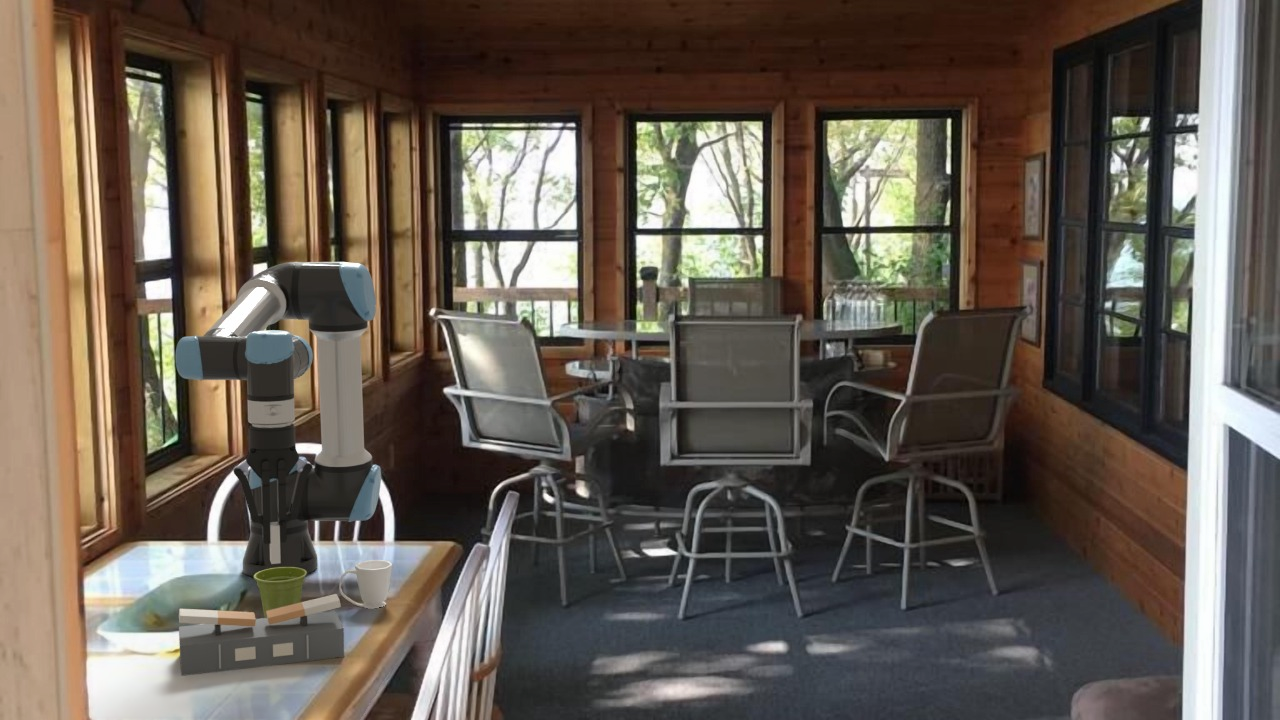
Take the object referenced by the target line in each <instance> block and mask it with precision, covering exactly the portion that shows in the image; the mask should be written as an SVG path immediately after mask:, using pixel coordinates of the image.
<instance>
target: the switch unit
mask: <svg viewBox="0 0 1280 720" xmlns="http://www.w3.org/2000/svg"><path fill="white" fill-rule="evenodd" d="M344 631H345V630H344V626H343V623H342V622H341V620H340V618H339V615H338V613H337V611H336V610H331V611H330V610H329V611H323V612H319V613H315V614H311V615H307V616H303V617H299V618H295V619H291V620H286V621H282V622H278V623H274V624H270V625H269V622H268V618H263V617H262V618H256V622H255V626H235V625H213V624H194V625H193V624H192V625H182V626H179V627H178V636H179V637H178V638H179V640H178V641H179V643H178V644H179V661H180V675H181V676H188V675H198V674H205V673H206V674H207V673H215V672H222V671H233V670H240V669H241V670H242V669H250V668H258V667H259V668H260V667H268V666H276V665H286V664H294V663H303V662H309V661H310V662H313V661H320V660H329V659H336V658H335V657H339V658H343V657H342V656H344V657H345V632H344Z"/></svg>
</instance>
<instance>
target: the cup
mask: <svg viewBox="0 0 1280 720" xmlns="http://www.w3.org/2000/svg"><path fill="white" fill-rule="evenodd" d="M354 567H355V569H348V570H346V571H345V572H343V574H342V575H341V577H340V580H339V587H338V588H339V589H338V590H339V593H340V595H341V596H342V597H343V598H344V599H345V600H346V601H348V602H349V603H352V604H353V605H355V606H356V607H357V606H358V607H360V608H361V607H363V608H364V609H366V608H368V609H369V610H375V609H374V608H378V609H380V608H379V607H383V606H384V607H386V606H387V603H386V602H385V601H386V600H387V599H388V594H389V590H390V584H391V576H392V571H393V563H391V562H390V561H388V560H383V559H382V560H381V559H372V560H371V559H370V560H364V561H360V562H359V563H357V564H355V565H354ZM347 574H354V575H356V578H357V579H356V580H357V585H358V591H359V595H360V598H361V600H362V601H363V603H360V602H356V601H355V600H353V599H351V598H350V597H349V596H347V595H346V594H345V593H344V592H343V590H342V582H343V578H345V576H346V575H347ZM385 605H386V606H385ZM384 607H383V608H384Z"/></svg>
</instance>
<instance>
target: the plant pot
mask: <svg viewBox="0 0 1280 720" xmlns="http://www.w3.org/2000/svg"><path fill="white" fill-rule="evenodd" d="M307 574H308V573H307V571H306V570H304V569H301V568H296V567H277V568H270V569H265V570H262V571H259V572H257V573H256V574H255V575H254V577H253V579H254V580H255V581H256V585H257V587H258V590H259V594H260V600H261V606H262V612H263V617H264V618H267V614H266V611H268V610H272V609H276V608H280V607H284V606H288V605H292V604H297V603H301V602H302V600H301V599H302V591H303V584H304V582H305V578H306V577H307Z"/></svg>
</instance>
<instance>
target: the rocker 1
mask: <svg viewBox="0 0 1280 720" xmlns="http://www.w3.org/2000/svg"><path fill="white" fill-rule="evenodd" d="M256 619H257V618H256V614H255V612H253V611H250V612H249V611H235V610H214V609H197V608H195V609H193V608H179V612H178V623H179V624H192V625H193V624H194V625H201V624H213V625H235V626H255V622H256Z"/></svg>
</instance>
